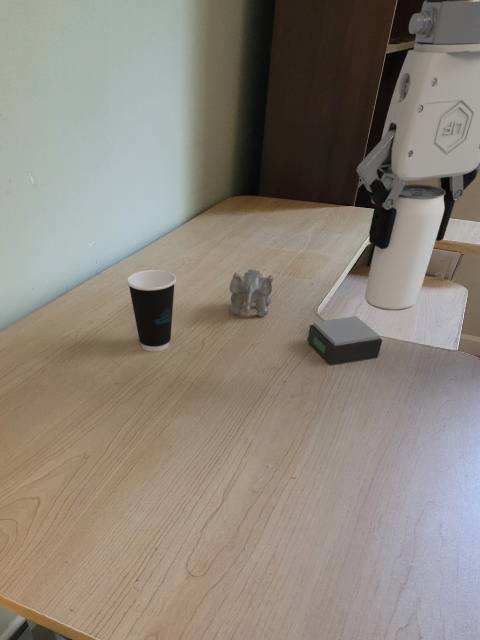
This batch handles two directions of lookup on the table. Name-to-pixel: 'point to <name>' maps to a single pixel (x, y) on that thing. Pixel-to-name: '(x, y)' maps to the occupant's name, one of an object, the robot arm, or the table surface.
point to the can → (406, 249)
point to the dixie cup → (153, 307)
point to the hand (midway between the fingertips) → (405, 239)
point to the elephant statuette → (251, 292)
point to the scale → (344, 340)
